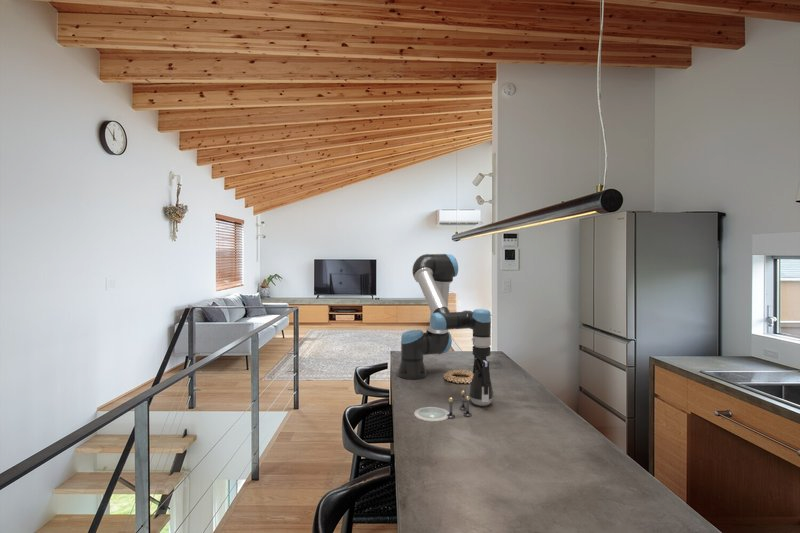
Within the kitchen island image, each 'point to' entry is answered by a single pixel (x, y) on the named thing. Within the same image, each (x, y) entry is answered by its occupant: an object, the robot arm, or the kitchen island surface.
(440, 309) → the robot arm
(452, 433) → the kitchen island surface
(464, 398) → the metal corner railing
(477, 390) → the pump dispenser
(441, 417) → the coaster
